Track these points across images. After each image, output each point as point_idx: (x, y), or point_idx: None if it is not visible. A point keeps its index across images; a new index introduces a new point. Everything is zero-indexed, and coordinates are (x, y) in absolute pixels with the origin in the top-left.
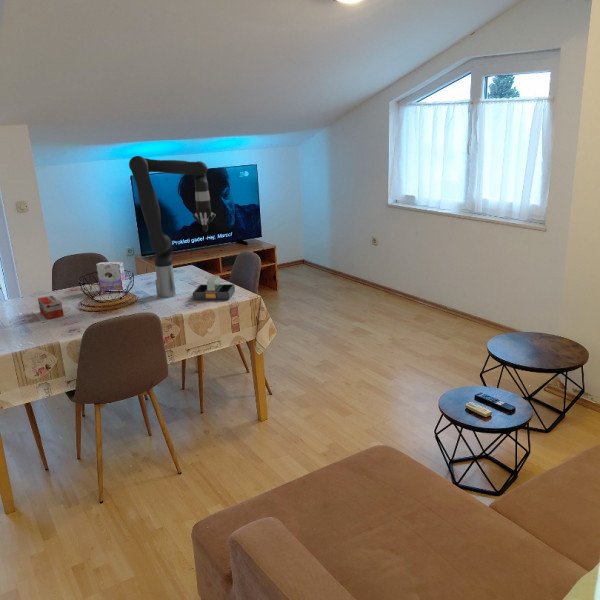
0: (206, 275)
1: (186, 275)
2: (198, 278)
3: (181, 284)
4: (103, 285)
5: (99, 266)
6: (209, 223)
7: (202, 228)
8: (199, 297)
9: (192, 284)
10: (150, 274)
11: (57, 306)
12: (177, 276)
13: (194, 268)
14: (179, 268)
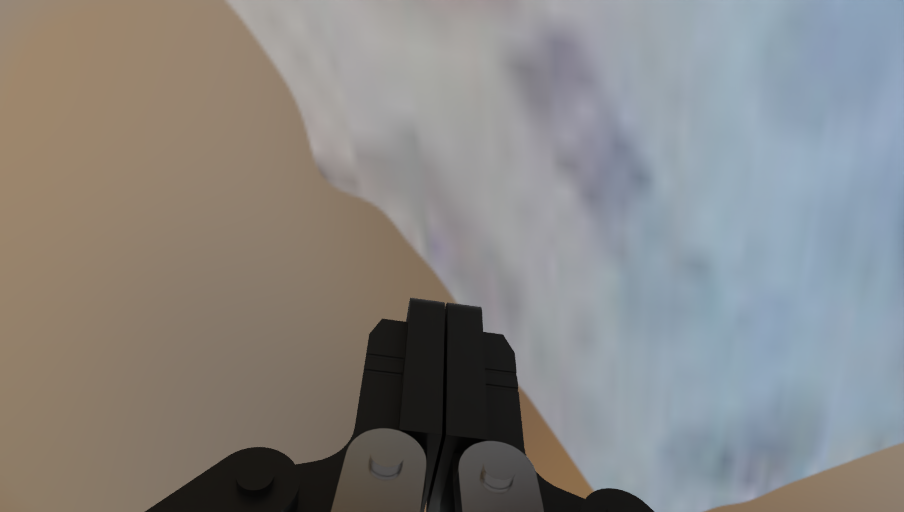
0: (513, 350)
1: (657, 372)
2: (570, 293)
3: (708, 163)
4: None
5: None
6: (244, 452)
7: (515, 378)
8: None
9: (617, 146)
10: (898, 429)
11: None
12: (722, 361)
13: None
14: (695, 508)
